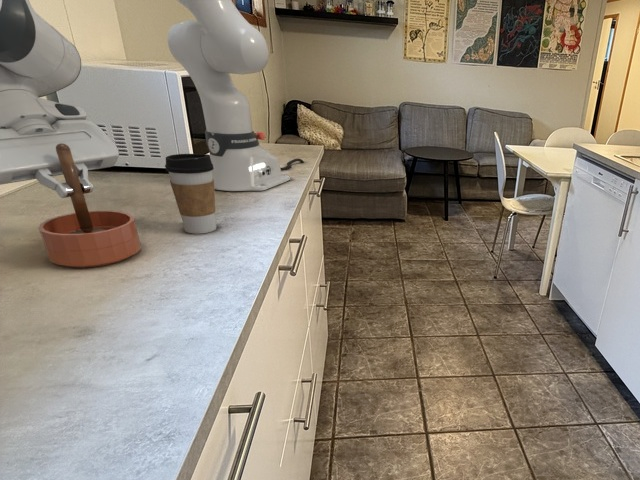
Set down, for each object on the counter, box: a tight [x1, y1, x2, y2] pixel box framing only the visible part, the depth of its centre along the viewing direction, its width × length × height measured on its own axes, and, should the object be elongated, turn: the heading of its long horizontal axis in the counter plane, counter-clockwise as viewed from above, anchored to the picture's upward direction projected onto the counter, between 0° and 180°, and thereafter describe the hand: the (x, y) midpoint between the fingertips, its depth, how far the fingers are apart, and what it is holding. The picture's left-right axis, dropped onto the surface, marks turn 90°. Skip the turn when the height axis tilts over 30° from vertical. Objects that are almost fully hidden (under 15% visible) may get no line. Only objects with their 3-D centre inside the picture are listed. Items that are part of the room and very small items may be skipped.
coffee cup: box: [164, 153, 217, 235], centre depth 94 cm, size 8×8×15 cm
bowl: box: [37, 210, 142, 268], centre depth 82 cm, size 13×13×6 cm
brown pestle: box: [56, 143, 105, 234], centre depth 78 cm, size 5×5×17 cm
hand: (78, 193), depth 77 cm, fingers closed on brown pestle
